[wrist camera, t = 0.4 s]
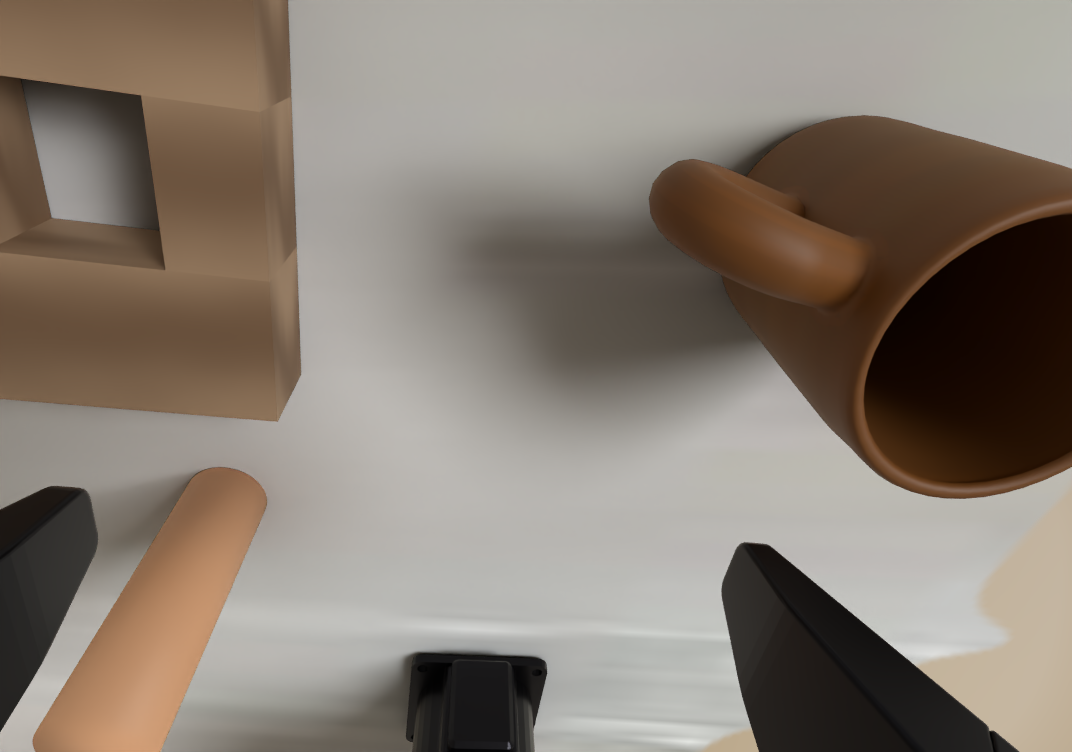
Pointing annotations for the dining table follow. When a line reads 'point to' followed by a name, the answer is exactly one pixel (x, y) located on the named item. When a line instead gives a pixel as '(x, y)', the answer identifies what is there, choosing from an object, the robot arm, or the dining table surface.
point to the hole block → (182, 205)
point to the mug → (901, 293)
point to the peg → (158, 623)
